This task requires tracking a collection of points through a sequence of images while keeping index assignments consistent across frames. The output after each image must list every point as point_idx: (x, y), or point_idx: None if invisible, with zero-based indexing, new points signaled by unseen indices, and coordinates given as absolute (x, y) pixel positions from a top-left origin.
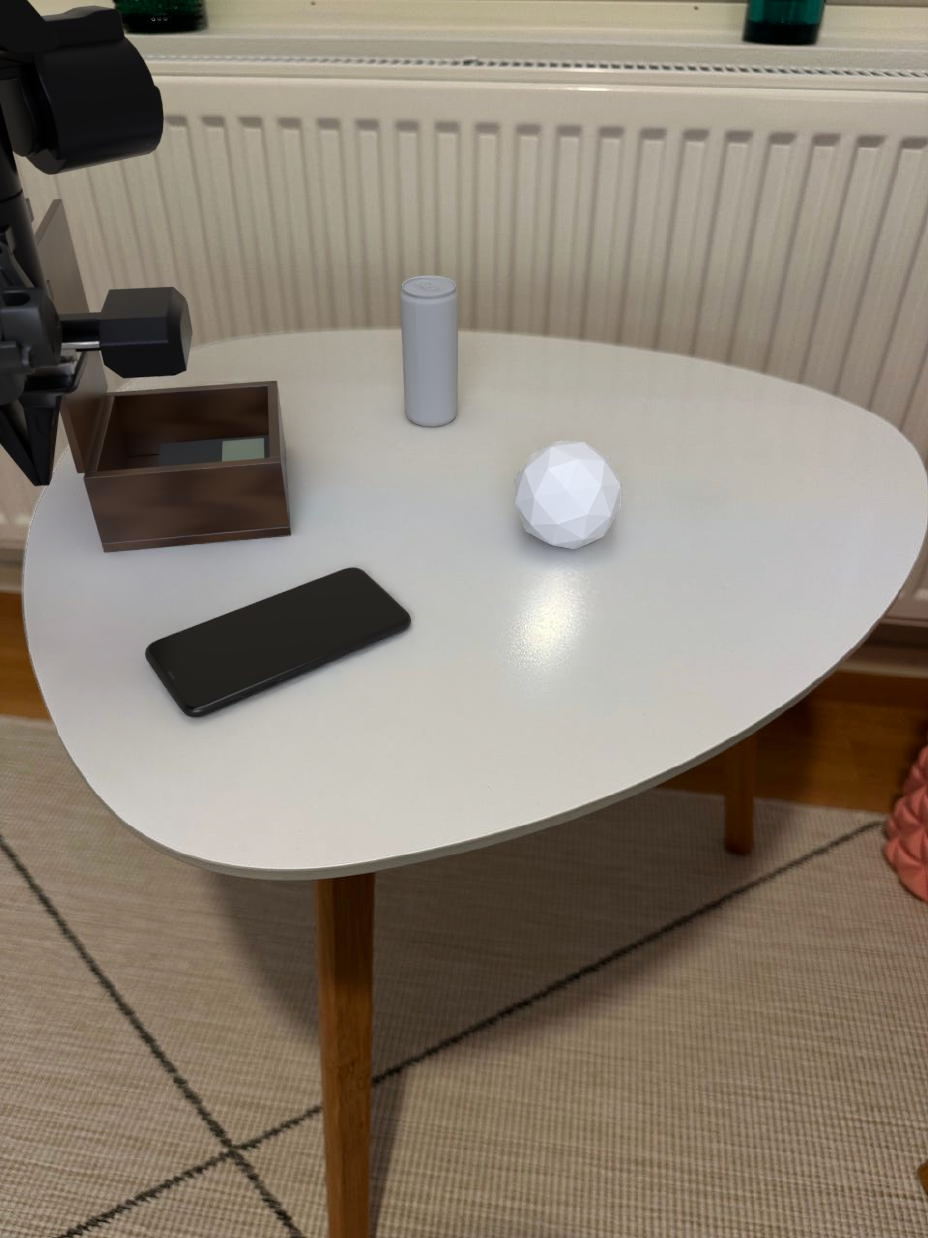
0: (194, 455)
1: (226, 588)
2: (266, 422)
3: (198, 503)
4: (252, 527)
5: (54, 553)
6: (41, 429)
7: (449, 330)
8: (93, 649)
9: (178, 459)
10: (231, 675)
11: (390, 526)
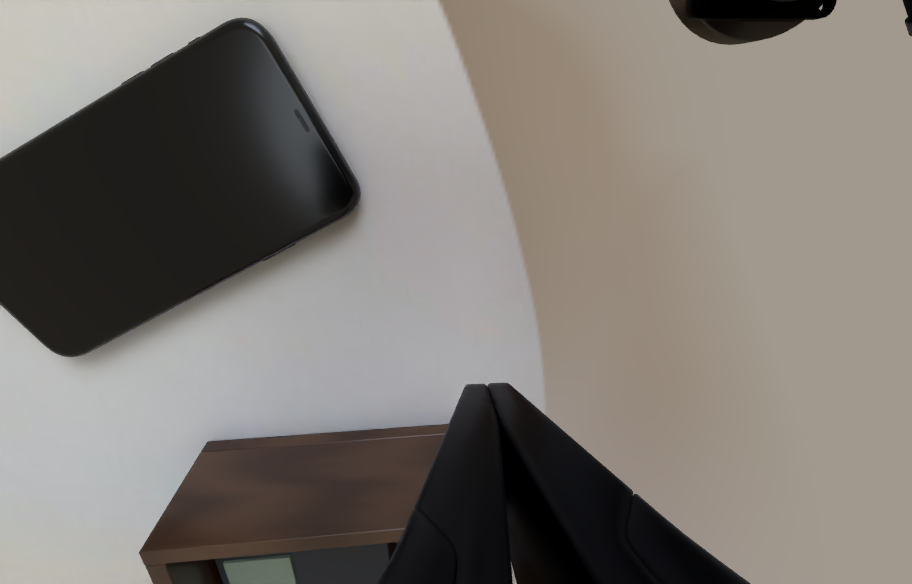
0: (339, 580)
1: (277, 339)
2: None
3: (312, 483)
4: (253, 451)
5: None
6: (438, 550)
7: None
8: (445, 228)
9: (361, 573)
10: (199, 105)
11: (57, 452)
